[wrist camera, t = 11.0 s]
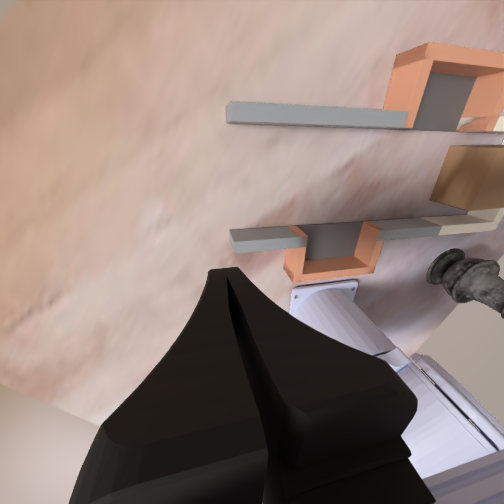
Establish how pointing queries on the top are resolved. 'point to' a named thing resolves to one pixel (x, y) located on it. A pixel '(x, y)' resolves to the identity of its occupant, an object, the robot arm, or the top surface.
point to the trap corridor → (391, 117)
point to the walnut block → (472, 178)
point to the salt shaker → (468, 279)
